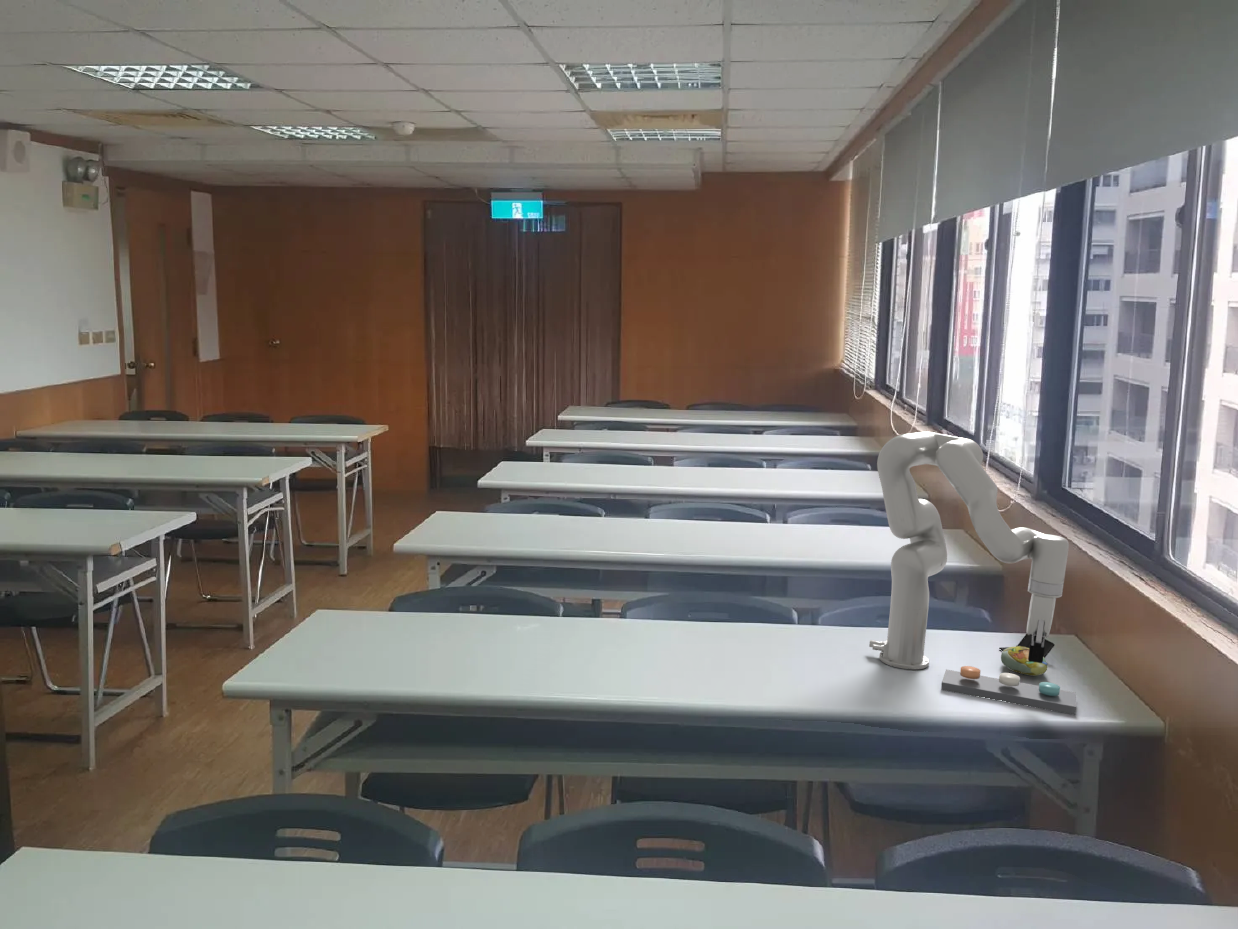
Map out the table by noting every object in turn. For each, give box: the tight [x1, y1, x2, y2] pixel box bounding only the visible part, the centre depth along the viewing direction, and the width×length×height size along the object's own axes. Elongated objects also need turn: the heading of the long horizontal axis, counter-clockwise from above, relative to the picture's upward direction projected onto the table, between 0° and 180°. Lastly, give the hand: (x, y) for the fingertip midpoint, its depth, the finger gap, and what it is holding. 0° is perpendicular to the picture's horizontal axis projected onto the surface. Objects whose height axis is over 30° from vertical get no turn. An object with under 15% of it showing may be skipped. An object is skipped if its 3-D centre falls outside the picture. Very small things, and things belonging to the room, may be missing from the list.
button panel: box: [940, 668, 1077, 716], centre depth 245 cm, size 30×10×2 cm, turn 67°
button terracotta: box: [959, 665, 981, 679], centre depth 248 cm, size 5×5×2 cm
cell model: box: [1000, 645, 1048, 677], centre depth 262 cm, size 11×8×15 cm
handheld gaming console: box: [998, 633, 1055, 659], centre depth 274 cm, size 12×7×10 cm
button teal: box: [1038, 681, 1061, 696], centre depth 241 cm, size 5×5×2 cm
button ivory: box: [998, 672, 1021, 686], centre depth 244 cm, size 5×5×2 cm
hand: (1035, 661), depth 242 cm, fingers closed
